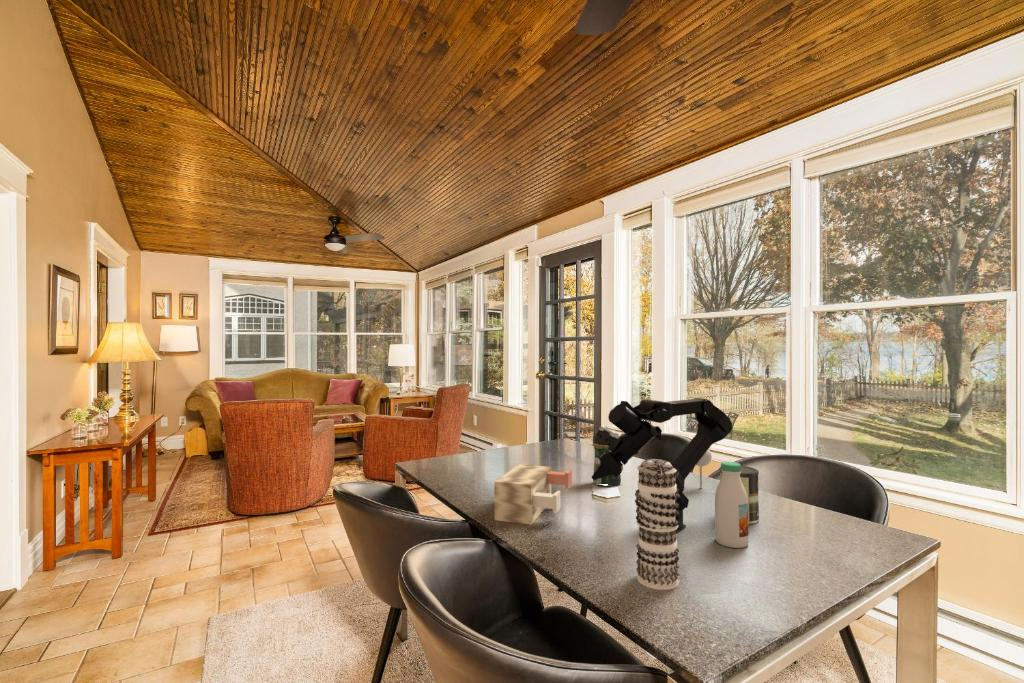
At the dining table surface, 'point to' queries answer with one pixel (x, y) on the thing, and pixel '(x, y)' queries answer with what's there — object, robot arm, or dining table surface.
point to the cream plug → (547, 500)
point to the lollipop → (704, 463)
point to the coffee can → (750, 491)
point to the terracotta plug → (560, 478)
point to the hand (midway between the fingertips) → (593, 477)
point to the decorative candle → (657, 525)
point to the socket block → (520, 493)
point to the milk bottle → (731, 508)
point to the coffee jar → (599, 451)
